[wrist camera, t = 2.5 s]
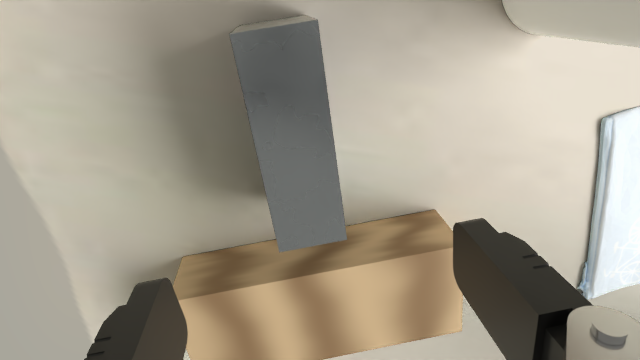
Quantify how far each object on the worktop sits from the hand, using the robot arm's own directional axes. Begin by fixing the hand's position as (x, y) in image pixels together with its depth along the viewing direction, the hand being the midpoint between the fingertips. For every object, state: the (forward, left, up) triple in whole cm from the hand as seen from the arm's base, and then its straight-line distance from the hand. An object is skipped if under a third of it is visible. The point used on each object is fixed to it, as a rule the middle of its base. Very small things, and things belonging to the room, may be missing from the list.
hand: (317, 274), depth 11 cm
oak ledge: (0, +14, -17) cm, 22 cm away
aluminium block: (0, 0, -17) cm, 17 cm away
